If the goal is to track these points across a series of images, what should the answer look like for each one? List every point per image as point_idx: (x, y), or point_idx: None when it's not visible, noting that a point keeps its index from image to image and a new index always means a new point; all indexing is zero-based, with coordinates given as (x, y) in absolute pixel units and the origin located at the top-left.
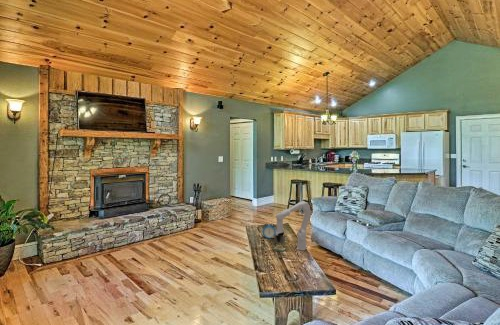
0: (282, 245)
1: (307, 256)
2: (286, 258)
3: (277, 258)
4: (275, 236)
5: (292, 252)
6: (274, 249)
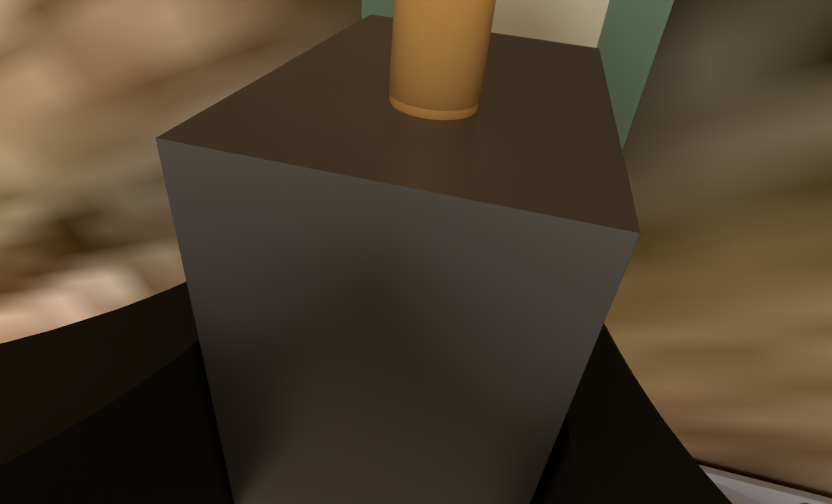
0: None
1: None
2: None
3: (26, 193)
4: (200, 240)
5: None
6: (363, 13)
